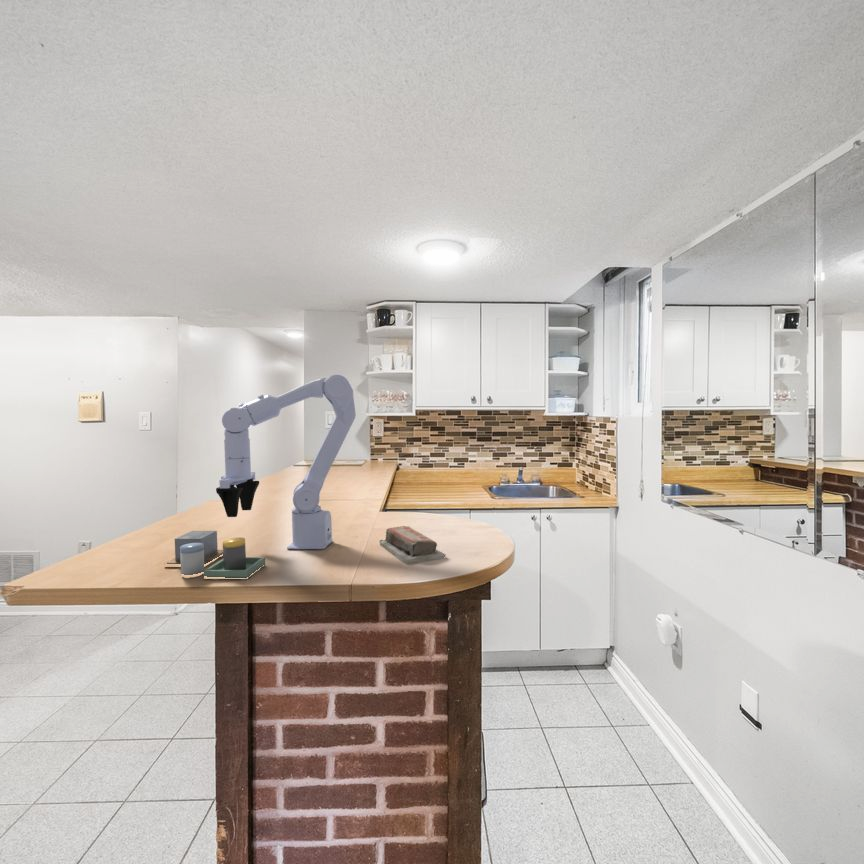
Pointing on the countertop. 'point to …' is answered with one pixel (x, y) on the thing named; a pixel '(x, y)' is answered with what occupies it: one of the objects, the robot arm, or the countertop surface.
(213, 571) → the parts tray
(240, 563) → the amber part
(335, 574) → the countertop surface
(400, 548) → the packaged product
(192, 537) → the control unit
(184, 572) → the blue part
